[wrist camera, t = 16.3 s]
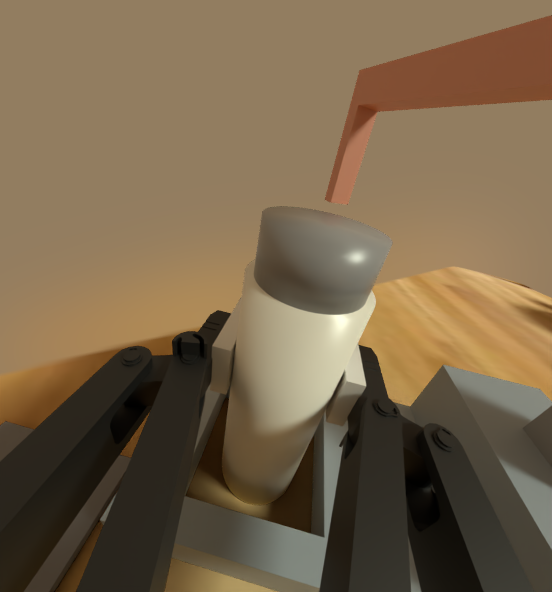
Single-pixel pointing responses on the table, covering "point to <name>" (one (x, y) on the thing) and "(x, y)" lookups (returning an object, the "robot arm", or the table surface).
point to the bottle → (294, 340)
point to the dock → (312, 547)
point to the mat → (60, 559)
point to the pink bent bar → (445, 86)
